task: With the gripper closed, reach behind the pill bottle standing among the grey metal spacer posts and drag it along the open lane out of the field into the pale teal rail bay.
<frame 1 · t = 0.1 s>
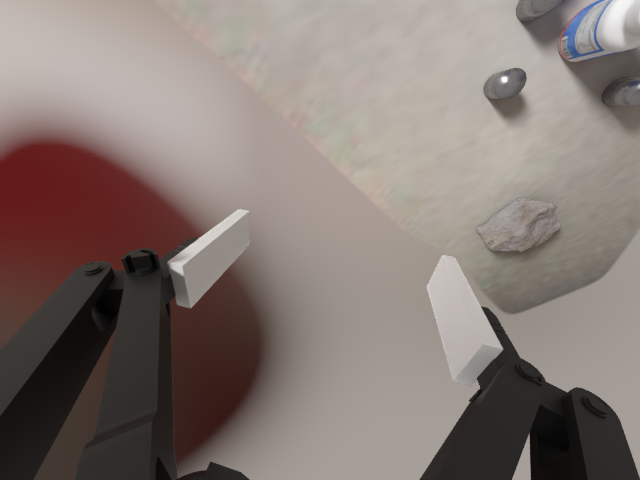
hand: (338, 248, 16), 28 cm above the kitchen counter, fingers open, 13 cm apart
stone: (509, 220, 40), on the kitchen counter
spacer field: (585, 34, 28), on the kitchen counter
pill bottle: (583, 34, 28), on the kitchen counter
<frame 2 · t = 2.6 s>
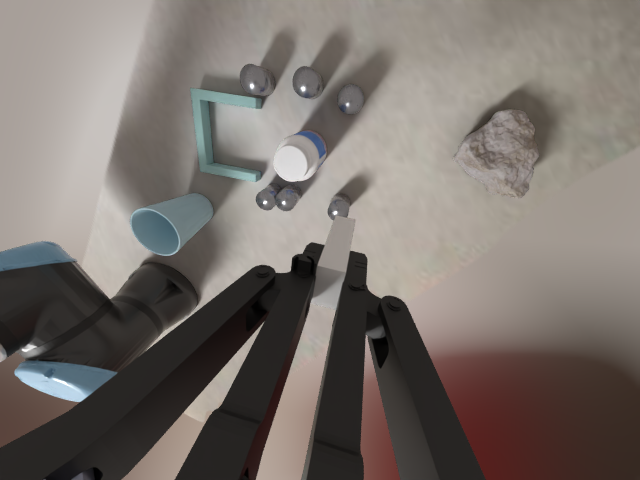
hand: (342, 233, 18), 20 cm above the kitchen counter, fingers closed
cup: (200, 207, 43), on the kitchen counter
stone: (487, 154, 31), on the kitchen counter
teal bay: (235, 137, 36), on the kitchen counter
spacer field: (309, 150, 35), on the kitchen counter
pill bottle: (309, 150, 35), on the kitchen counter
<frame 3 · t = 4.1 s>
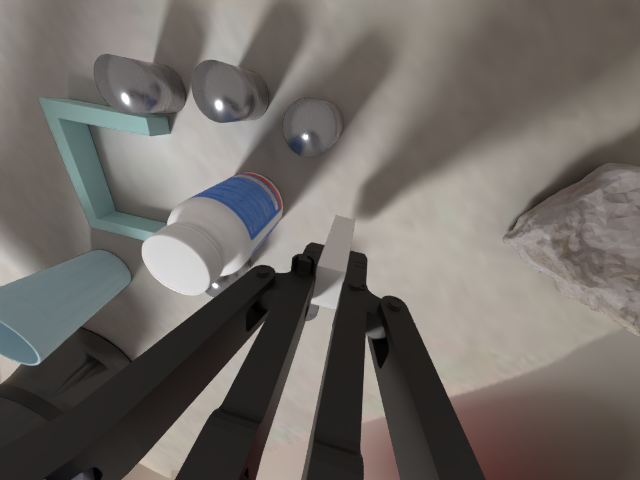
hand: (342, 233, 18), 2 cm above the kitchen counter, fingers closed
cup: (113, 267, 29), on the kitchen counter
stone: (565, 231, 17), on the kitchen counter
teal bay: (139, 177, 22), on the kitchen counter
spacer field: (255, 202, 21), on the kitchen counter
pill bottle: (256, 201, 21), on the kitchen counter
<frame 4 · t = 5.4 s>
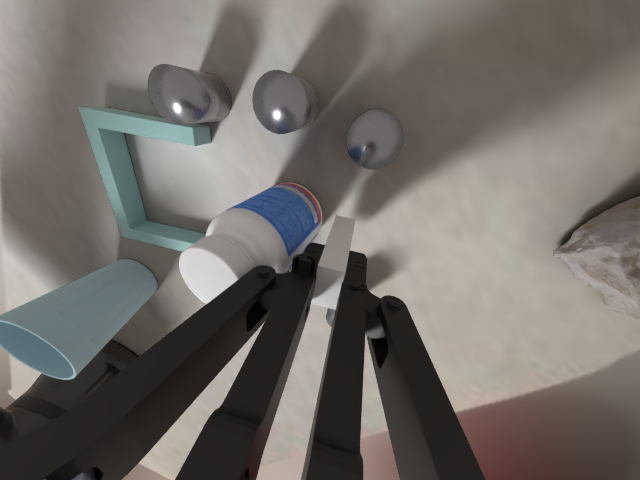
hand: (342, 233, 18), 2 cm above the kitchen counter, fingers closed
cup: (138, 275, 29), on the kitchen counter
stone: (615, 245, 17), on the kitchen counter
teal bay: (175, 186, 21), on the kitchen counter
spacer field: (295, 211, 20), on the kitchen counter
pill bottle: (295, 212, 20), on the kitchen counter, touching gripper
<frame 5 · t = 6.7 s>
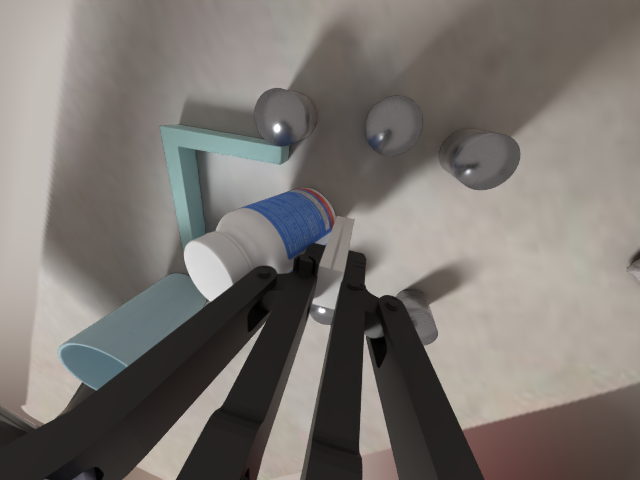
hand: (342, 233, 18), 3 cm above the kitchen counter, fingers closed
cup: (186, 289, 29), on the kitchen counter
teal bay: (242, 202, 21), on the kitchen counter
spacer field: (367, 226, 20), on the kitchen counter
pill bottle: (311, 218, 20), point 1 cm above the kitchen counter, touching gripper
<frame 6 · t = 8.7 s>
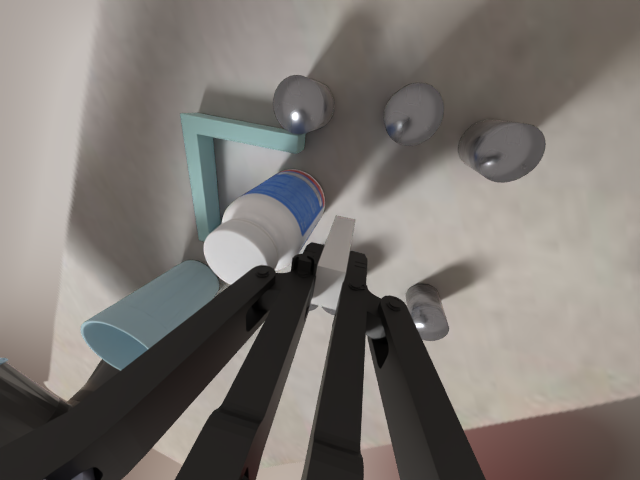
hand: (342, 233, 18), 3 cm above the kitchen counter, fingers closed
cup: (200, 277, 29), on the kitchen counter
teal bay: (257, 191, 21), on the kitchen counter
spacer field: (381, 219, 20), on the kitchen counter
pill bottle: (297, 198, 21), on the kitchen counter, touching gripper
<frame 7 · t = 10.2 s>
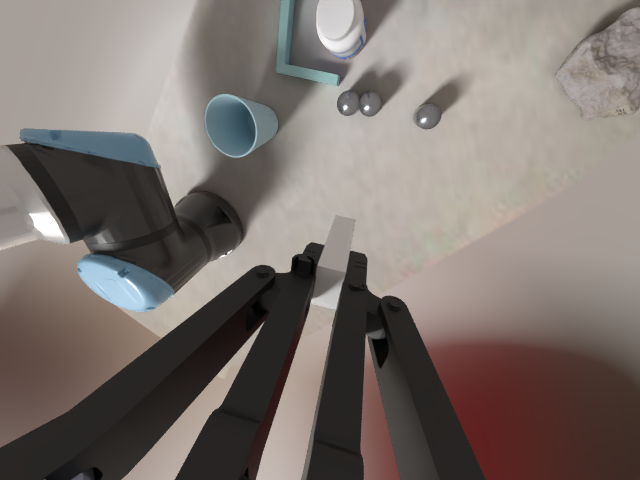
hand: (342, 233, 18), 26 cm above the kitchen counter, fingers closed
cup: (263, 123, 40), on the kitchen counter
stone: (591, 73, 29), on the kitchen counter
teal bay: (319, 32, 33), on the kitchen counter
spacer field: (401, 48, 32), on the kitchen counter
pill bottle: (347, 36, 32), on the kitchen counter
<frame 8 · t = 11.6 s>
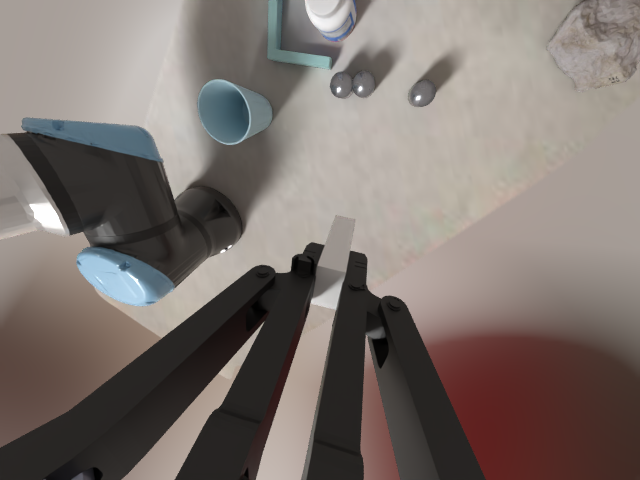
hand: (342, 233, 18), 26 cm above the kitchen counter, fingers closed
cup: (258, 112, 40), on the kitchen counter
stone: (583, 44, 29), on the kitchen counter
teal bay: (309, 16, 33), on the kitchen counter
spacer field: (391, 26, 31), on the kitchen counter
pill bottle: (337, 18, 32), on the kitchen counter
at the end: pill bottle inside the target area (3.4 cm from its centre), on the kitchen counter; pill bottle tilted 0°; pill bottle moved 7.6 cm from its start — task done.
